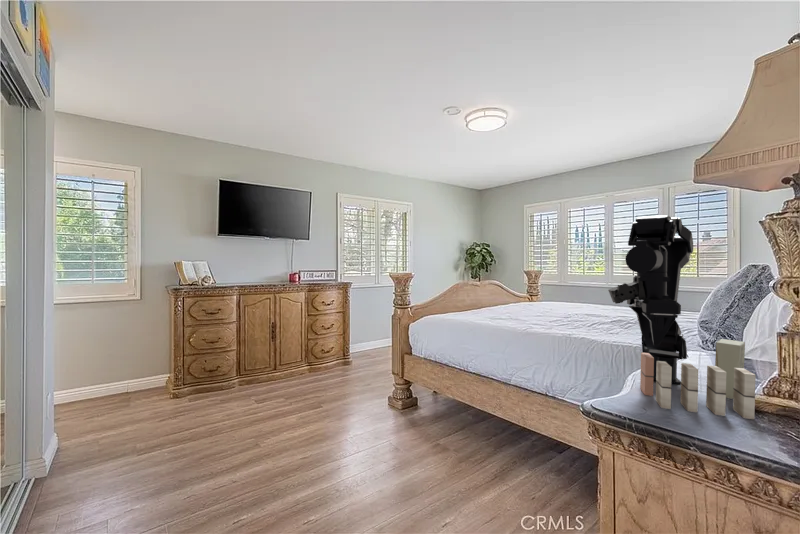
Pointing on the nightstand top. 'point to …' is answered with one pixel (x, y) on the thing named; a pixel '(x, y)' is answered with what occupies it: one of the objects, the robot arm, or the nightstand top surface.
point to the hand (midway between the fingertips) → (650, 340)
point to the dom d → (716, 390)
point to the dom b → (663, 384)
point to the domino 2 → (689, 387)
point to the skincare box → (729, 360)
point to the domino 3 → (744, 393)
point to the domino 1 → (647, 373)
